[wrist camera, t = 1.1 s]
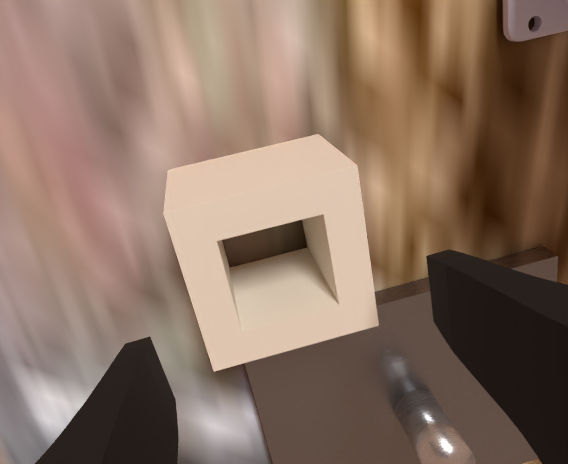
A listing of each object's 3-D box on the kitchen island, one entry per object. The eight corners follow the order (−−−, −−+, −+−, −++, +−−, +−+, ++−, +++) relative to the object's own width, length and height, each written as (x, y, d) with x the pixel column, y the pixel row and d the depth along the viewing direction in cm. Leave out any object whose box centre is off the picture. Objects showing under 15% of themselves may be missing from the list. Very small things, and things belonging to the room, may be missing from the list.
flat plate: (542, 246, 22) (624, 296, 18) (537, 440, 27) (599, 514, 23) (236, 329, 21) (249, 404, 17) (289, 517, 26) (309, 610, 22)
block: (318, 133, 18) (357, 165, 14) (340, 265, 21) (379, 325, 16) (167, 169, 18) (163, 213, 14) (207, 300, 20) (213, 371, 16)
